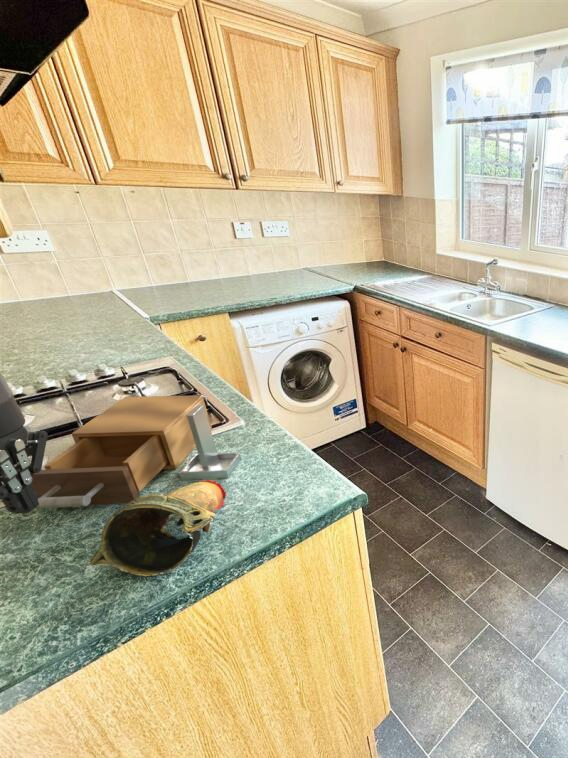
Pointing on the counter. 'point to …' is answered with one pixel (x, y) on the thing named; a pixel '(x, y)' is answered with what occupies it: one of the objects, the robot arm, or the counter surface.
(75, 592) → the counter surface
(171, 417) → the cabinet
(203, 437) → the inverted t stand
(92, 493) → the drawer
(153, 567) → the pot
